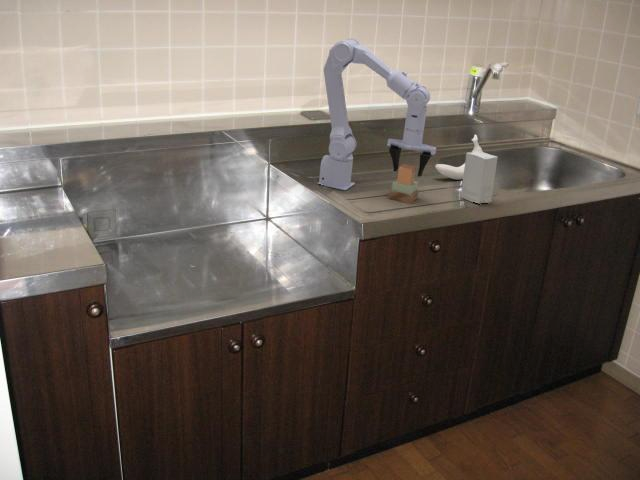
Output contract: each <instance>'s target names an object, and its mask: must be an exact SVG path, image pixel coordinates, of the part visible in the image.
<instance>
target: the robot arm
mask: <svg viewBox="0 0 640 480" xmlns="http://www.w3.org/2000/svg"><path fill="white" fill-rule="evenodd" d="M351 63H352V64H360V65H365V66H366V67H368V68H369V69H371V70H372V71H373V72H374V73H376V74H377V75H379V76H380V77H382V78H383V79H384V80H385V81H386V86H387V87H388V88H389V89H390V90H392V91H393V92H394V93H395V94H397V95H398V96H399V97H400V98H401V99H403V100H405V101H406V104H407V111H406V115H405V122H404V130H403V135H402V139H397V138H388V139H387V144H386V146H387V147H390V148H389V149H388V152H389V154H390V156H391V160H392V168H393V172H397V171H399V167H400V166H399V164H400V158H401V157H400V156H401V152H402V150H403V149H404V150H405V149H406V150H410V151H414V152H420V153H421V154H420V155H419V166H418V172H417V177H419V178H420V177H422V176H423V173H424V170H425V167H426V166H427V163H429V160H430V159H431V157H432V156H434V155H435V154H436V152H437V147H435V146H432V145H428V144H425V143H423V138H424V132H425V131H424V130H425V124H426V118H427V117H426V116H427V107H428V106H427V105H428V104H429V101H430V100H431V94H430V91H429V90H428V89H427V87H425V86H424V85H423V86H422V85H421V84H420V83H419V82H415V81H414V80H413V79H412V78H411V77H409V76H408V72H406V71H405V70H403V71H401V70H400V69H398V70H393V69H392V68H391V67H390V66H388V64H386V63H385V62H384V61H383V60H381V58H379V57H378V56H377V55H376V54H375V53H373V52H372V51H371V50H370V49H369V48H368V47H366V46H365V45H364V44H362V43H360V42H359V41H358V40H356V39H355V38H347V39H345V40H340V41H337V42H336V43H335V44H334V45H333V46H332V47H331V48H330V49H329V53H328V57H327V59H326V62H325V64H324V67H323V76H324V82H325V89H326V90H325V91H326V97H327V104H328V111H329V117H330V126H331V131H330V134H329V145H328V153H329V154H324V156H323V157H322V158H321V162H320V168H319V180H318V182H317V185H319V184H321V185H320V186H323V185H324V187H328V188H332V189H333V188H334V189H337V190H342V191H347V190H348V189H350V188H351V187H353V186H354V185H355V182H352V171H353V162H354V156H353V152H354V151H356V148H357V140H356V138H355V137H354V134H353V130H352V128H351V127H350V125H349V119H348V112H347V103H346V95H345V89H344V83H343V74H342V73H343V72H344V71H345V69H347V67H348V66H349V65H350V64H351Z"/></svg>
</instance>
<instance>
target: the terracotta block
mask: <svg viewBox="0 0 640 480" xmlns="http://www.w3.org/2000/svg"><path fill="white" fill-rule="evenodd" d="M416 167H417V166H415V165H410V164H405V163H403V164H401V165H400V166H398V173H397V174H398V175H397V179H396V180H397V183H400V184H405V185H409V186H410V185H411V184H412V183H413V182H414V181H415V175H416Z"/></svg>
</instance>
